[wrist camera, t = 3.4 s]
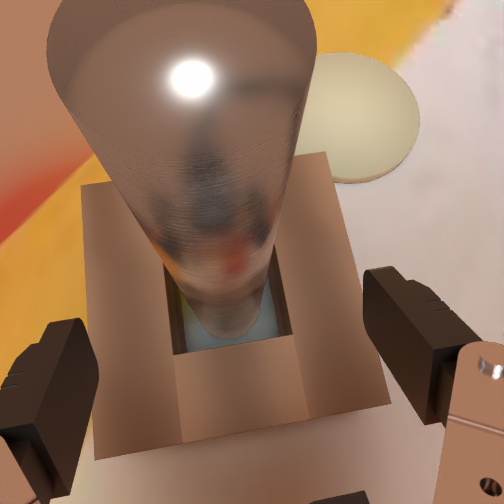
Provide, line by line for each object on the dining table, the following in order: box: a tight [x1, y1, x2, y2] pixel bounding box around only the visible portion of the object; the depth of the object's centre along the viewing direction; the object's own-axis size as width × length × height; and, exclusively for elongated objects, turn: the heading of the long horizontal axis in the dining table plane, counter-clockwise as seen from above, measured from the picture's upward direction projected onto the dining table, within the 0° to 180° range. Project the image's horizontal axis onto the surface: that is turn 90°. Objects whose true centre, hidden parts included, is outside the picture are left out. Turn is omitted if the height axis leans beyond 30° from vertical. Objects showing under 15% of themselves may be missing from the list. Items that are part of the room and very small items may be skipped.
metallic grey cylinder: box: [47, 0, 317, 339], centre depth 17 cm, size 4×4×22 cm
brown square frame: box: [81, 151, 391, 460], centre depth 24 cm, size 14×14×6 cm
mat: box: [294, 52, 420, 183], centre depth 31 cm, size 11×11×1 cm
